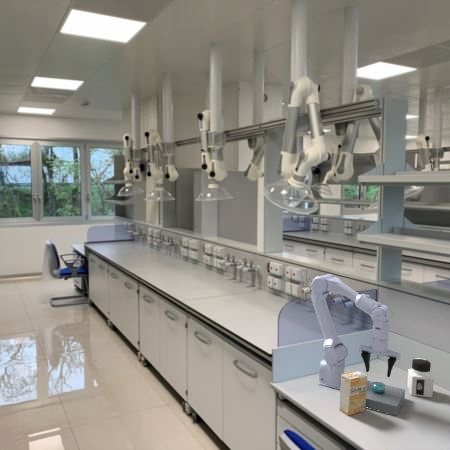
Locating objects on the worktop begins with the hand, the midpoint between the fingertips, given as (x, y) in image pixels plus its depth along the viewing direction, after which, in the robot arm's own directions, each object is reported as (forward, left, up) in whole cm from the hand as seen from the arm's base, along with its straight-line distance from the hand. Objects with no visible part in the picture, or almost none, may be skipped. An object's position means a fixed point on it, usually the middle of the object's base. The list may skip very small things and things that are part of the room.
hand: (378, 373), depth 165 cm
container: (+13, +15, -10) cm, 22 cm away
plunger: (+1, -2, -9) cm, 10 cm away
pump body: (+1, -2, -10) cm, 10 cm away
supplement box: (-5, -15, -10) cm, 19 cm away
